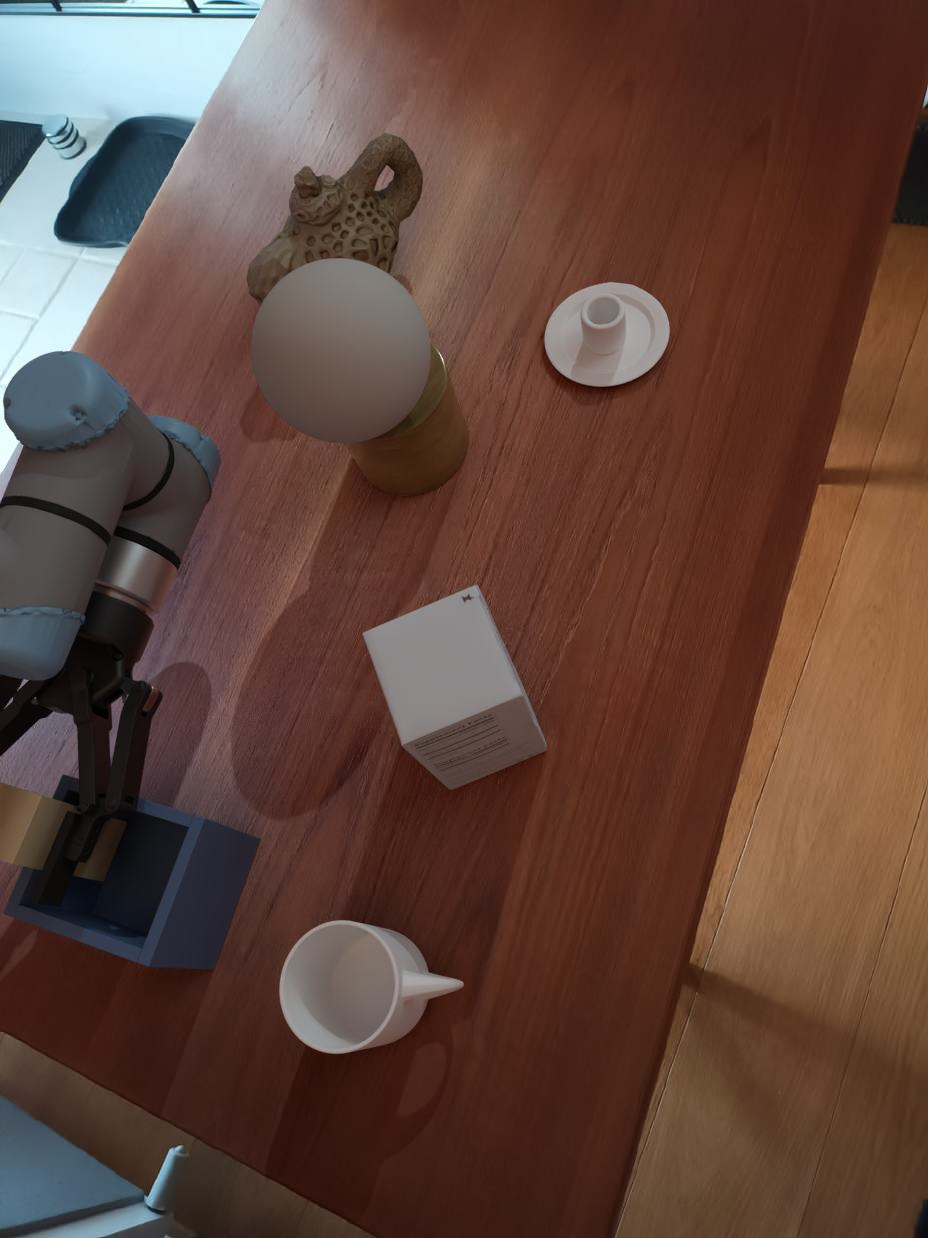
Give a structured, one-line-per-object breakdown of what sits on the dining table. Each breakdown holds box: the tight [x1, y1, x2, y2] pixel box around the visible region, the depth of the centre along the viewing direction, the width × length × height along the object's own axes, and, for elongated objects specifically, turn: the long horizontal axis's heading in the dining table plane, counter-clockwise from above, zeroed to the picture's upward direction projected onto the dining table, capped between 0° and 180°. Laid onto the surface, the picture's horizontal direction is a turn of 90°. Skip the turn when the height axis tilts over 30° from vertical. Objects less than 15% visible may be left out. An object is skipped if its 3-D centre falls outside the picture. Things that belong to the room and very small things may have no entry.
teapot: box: [246, 132, 424, 307], centre depth 95 cm, size 21×12×15 cm, turn 129°
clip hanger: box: [0, 781, 127, 882], centre depth 74 cm, size 6×5×12 cm
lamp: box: [250, 258, 470, 497], centre depth 81 cm, size 15×14×25 cm
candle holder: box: [543, 281, 671, 388], centre depth 91 cm, size 12×12×4 cm
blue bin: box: [3, 773, 261, 970], centre depth 77 cm, size 13×11×11 cm
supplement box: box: [361, 584, 548, 791], centre depth 74 cm, size 10×9×17 cm
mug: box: [279, 919, 465, 1055], centre depth 70 cm, size 9×12×11 cm
